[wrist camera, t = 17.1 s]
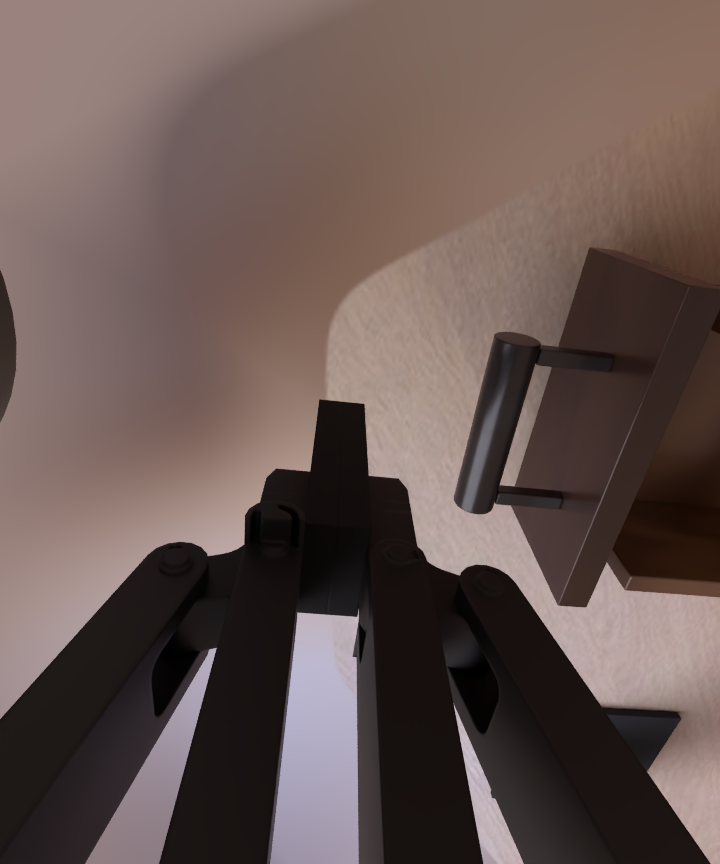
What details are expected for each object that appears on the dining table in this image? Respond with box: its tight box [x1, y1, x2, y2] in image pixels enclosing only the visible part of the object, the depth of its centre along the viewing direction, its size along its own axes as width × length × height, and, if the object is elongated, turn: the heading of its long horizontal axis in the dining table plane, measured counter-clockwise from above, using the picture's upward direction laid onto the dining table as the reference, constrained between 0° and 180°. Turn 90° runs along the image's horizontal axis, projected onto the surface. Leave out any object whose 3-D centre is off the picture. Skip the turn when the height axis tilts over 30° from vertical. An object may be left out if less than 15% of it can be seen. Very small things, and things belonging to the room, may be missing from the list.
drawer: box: [454, 248, 720, 607], centre depth 21 cm, size 20×13×7 cm, turn 83°
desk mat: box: [491, 708, 681, 798], centre depth 39 cm, size 11×11×1 cm
